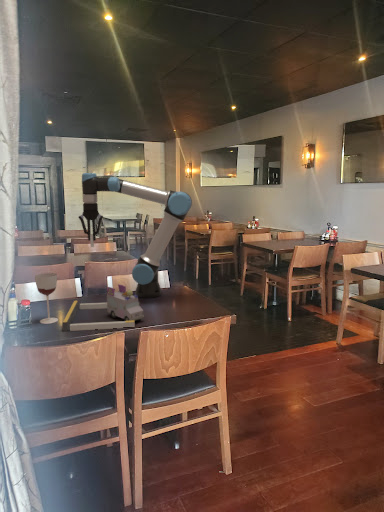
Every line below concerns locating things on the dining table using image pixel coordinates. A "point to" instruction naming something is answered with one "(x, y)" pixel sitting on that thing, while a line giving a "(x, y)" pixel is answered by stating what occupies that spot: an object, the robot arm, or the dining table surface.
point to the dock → (91, 326)
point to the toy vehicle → (123, 304)
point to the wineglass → (47, 290)
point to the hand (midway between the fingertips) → (92, 246)
